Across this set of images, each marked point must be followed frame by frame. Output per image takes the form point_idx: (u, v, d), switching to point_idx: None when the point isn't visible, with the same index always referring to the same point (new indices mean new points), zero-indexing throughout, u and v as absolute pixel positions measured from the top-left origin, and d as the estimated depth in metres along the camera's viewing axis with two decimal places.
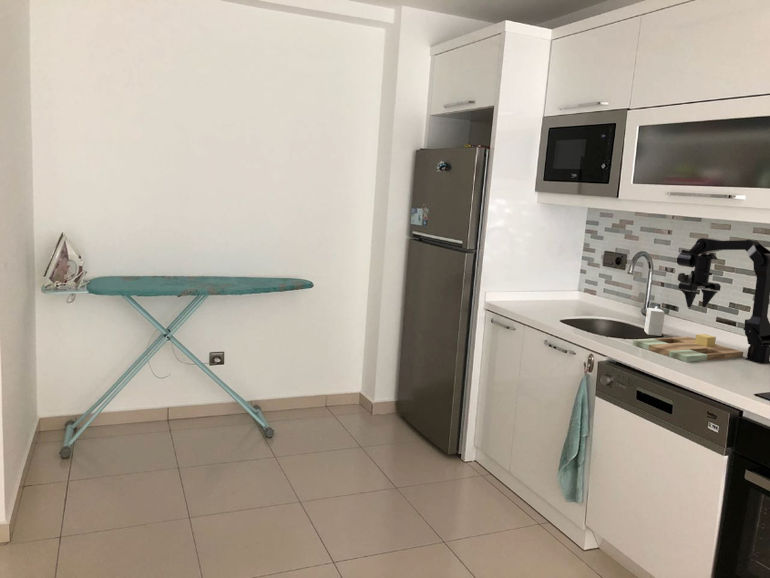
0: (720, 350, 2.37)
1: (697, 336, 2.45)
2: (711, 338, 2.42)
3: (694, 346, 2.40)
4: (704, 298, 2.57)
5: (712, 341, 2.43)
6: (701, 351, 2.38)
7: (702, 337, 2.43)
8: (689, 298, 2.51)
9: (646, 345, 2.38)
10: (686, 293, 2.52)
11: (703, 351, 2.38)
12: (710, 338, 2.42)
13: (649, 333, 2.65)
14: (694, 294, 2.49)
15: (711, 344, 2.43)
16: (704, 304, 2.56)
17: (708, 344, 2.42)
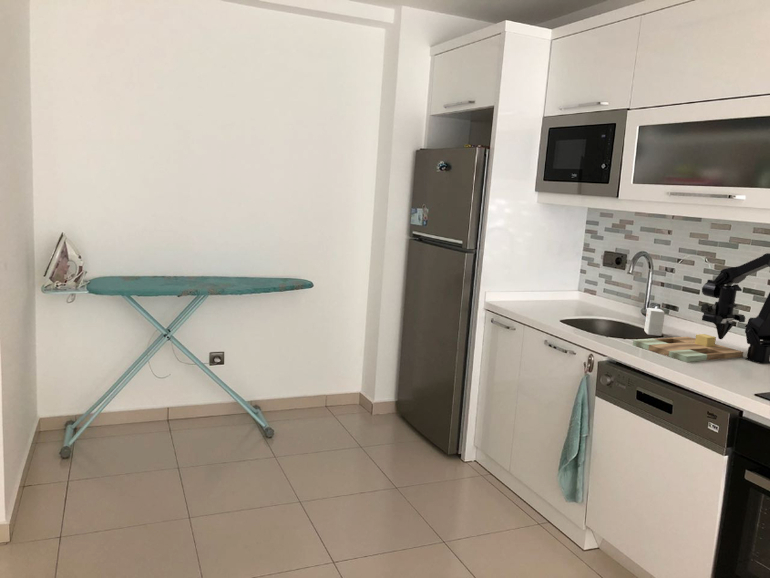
0: (720, 350, 2.37)
1: (697, 336, 2.45)
2: (711, 338, 2.42)
3: (694, 346, 2.40)
4: None
5: (712, 341, 2.43)
6: (701, 351, 2.38)
7: (702, 337, 2.43)
8: (720, 330, 2.47)
9: (646, 345, 2.38)
10: (717, 325, 2.48)
11: (703, 351, 2.38)
12: (710, 338, 2.42)
13: (649, 333, 2.65)
14: (726, 326, 2.45)
15: (711, 344, 2.43)
16: None
17: (708, 344, 2.42)
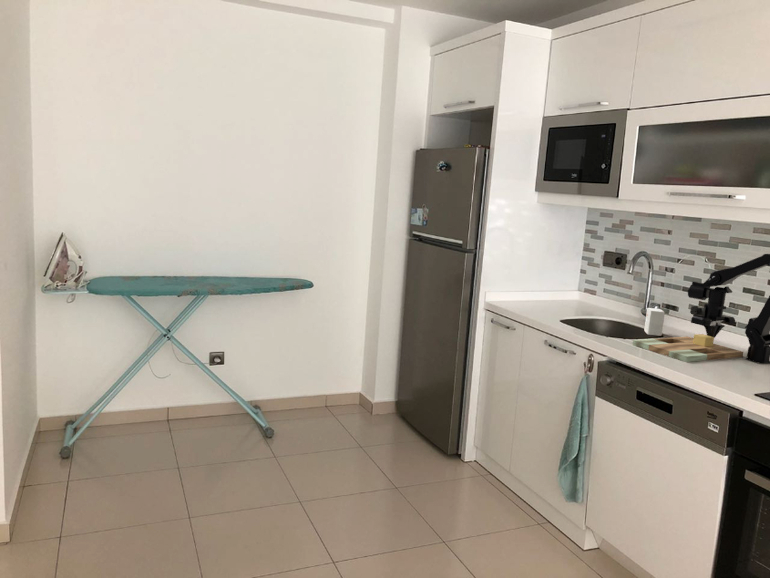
0: (720, 350, 2.37)
1: (695, 336, 2.44)
2: (709, 338, 2.42)
3: (694, 346, 2.40)
4: None
5: (710, 341, 2.42)
6: (701, 351, 2.38)
7: (700, 337, 2.43)
8: (710, 332, 2.44)
9: (646, 345, 2.38)
10: (707, 327, 2.45)
11: (703, 351, 2.38)
12: (708, 338, 2.41)
13: (649, 333, 2.65)
14: (715, 328, 2.42)
15: (709, 344, 2.42)
16: None
17: (706, 344, 2.41)
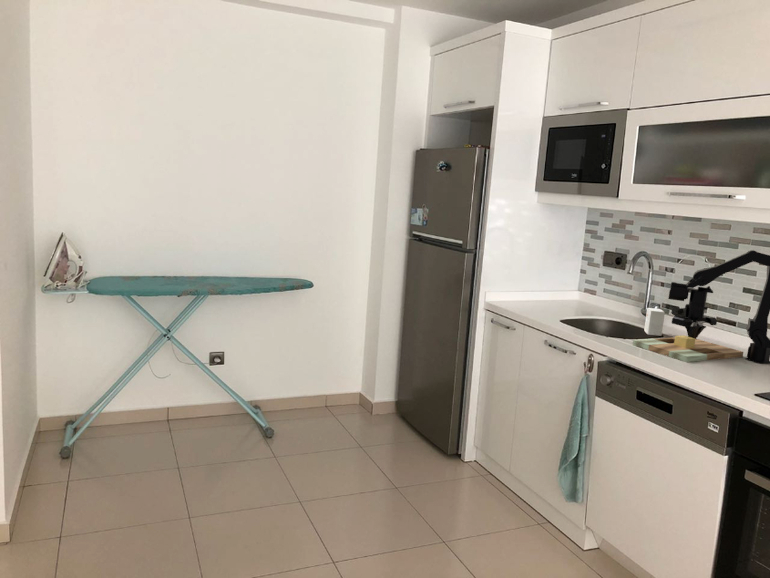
0: (720, 350, 2.37)
1: (676, 337, 2.39)
2: (690, 339, 2.37)
3: (694, 346, 2.40)
4: None
5: (691, 342, 2.37)
6: (701, 351, 2.38)
7: (681, 338, 2.37)
8: (691, 333, 2.39)
9: (646, 345, 2.38)
10: (688, 328, 2.40)
11: (703, 351, 2.38)
12: (689, 339, 2.36)
13: (649, 333, 2.65)
14: (696, 329, 2.37)
15: (690, 346, 2.37)
16: None
17: (687, 345, 2.36)
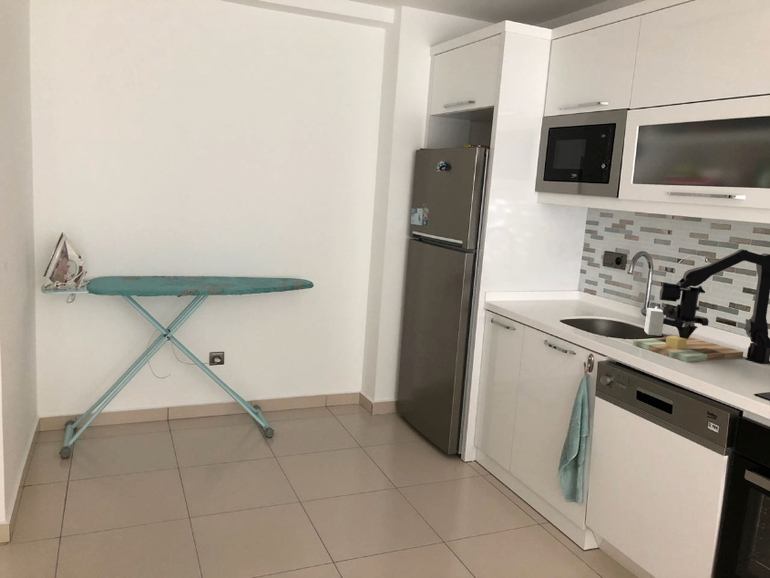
0: (720, 350, 2.37)
1: (667, 338, 2.37)
2: (682, 340, 2.34)
3: (694, 346, 2.40)
4: None
5: (683, 343, 2.35)
6: (701, 351, 2.38)
7: (672, 339, 2.35)
8: (682, 334, 2.37)
9: (646, 345, 2.38)
10: (679, 328, 2.38)
11: (703, 351, 2.38)
12: (680, 340, 2.34)
13: (649, 333, 2.65)
14: (688, 330, 2.35)
15: (682, 346, 2.35)
16: None
17: (678, 346, 2.34)
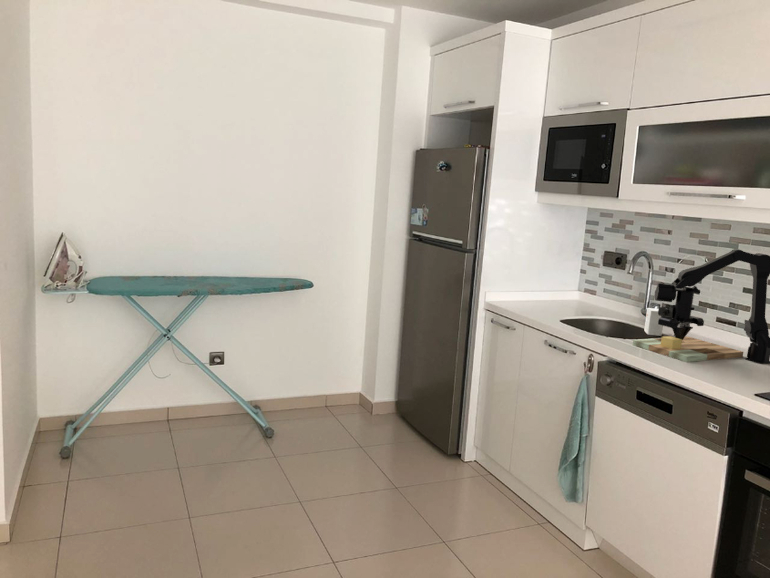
0: (720, 350, 2.37)
1: (663, 338, 2.36)
2: (677, 340, 2.33)
3: (694, 346, 2.40)
4: None
5: (678, 343, 2.34)
6: (701, 351, 2.38)
7: (667, 339, 2.34)
8: (678, 334, 2.36)
9: (646, 345, 2.38)
10: (675, 329, 2.37)
11: (703, 351, 2.38)
12: (676, 340, 2.33)
13: (649, 333, 2.65)
14: (683, 330, 2.34)
15: (677, 347, 2.34)
16: None
17: (673, 346, 2.33)
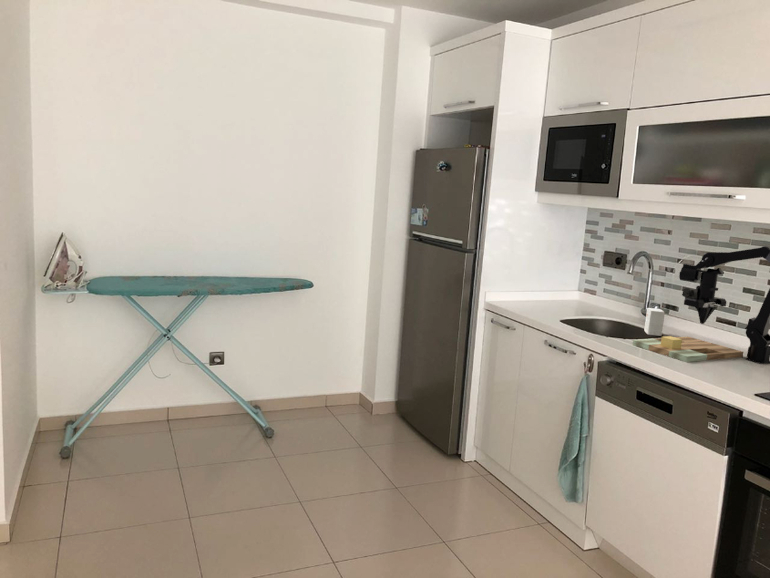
0: (720, 350, 2.37)
1: (663, 338, 2.36)
2: (677, 340, 2.33)
3: (694, 346, 2.40)
4: None
5: (678, 343, 2.34)
6: (701, 351, 2.38)
7: (667, 339, 2.34)
8: (702, 314, 2.44)
9: (646, 345, 2.38)
10: (699, 309, 2.45)
11: (703, 351, 2.38)
12: (676, 340, 2.33)
13: (649, 333, 2.65)
14: (708, 310, 2.42)
15: (677, 347, 2.34)
16: None
17: (673, 346, 2.33)
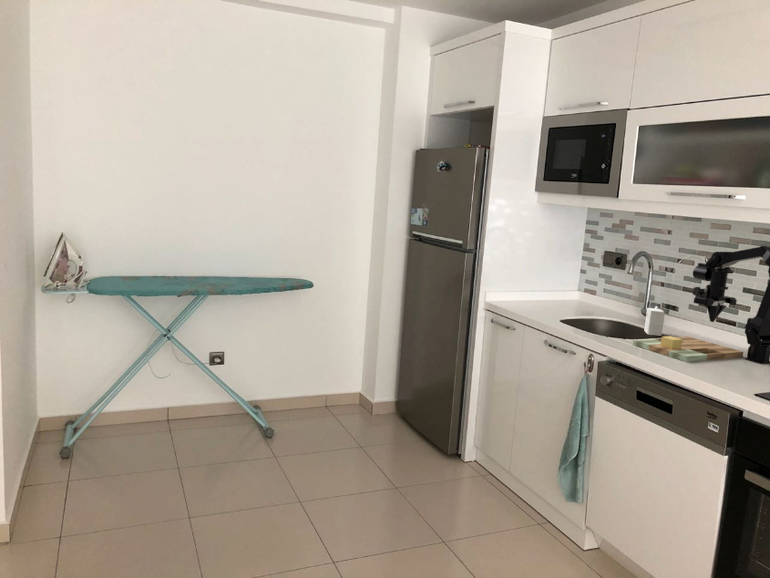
0: (720, 350, 2.37)
1: (663, 338, 2.36)
2: (677, 340, 2.33)
3: (694, 346, 2.40)
4: None
5: (678, 343, 2.34)
6: (701, 351, 2.38)
7: (667, 339, 2.34)
8: (712, 312, 2.49)
9: (646, 345, 2.38)
10: (709, 307, 2.50)
11: (703, 351, 2.38)
12: (676, 340, 2.33)
13: (649, 333, 2.65)
14: (717, 308, 2.47)
15: (677, 347, 2.34)
16: None
17: (673, 346, 2.33)
